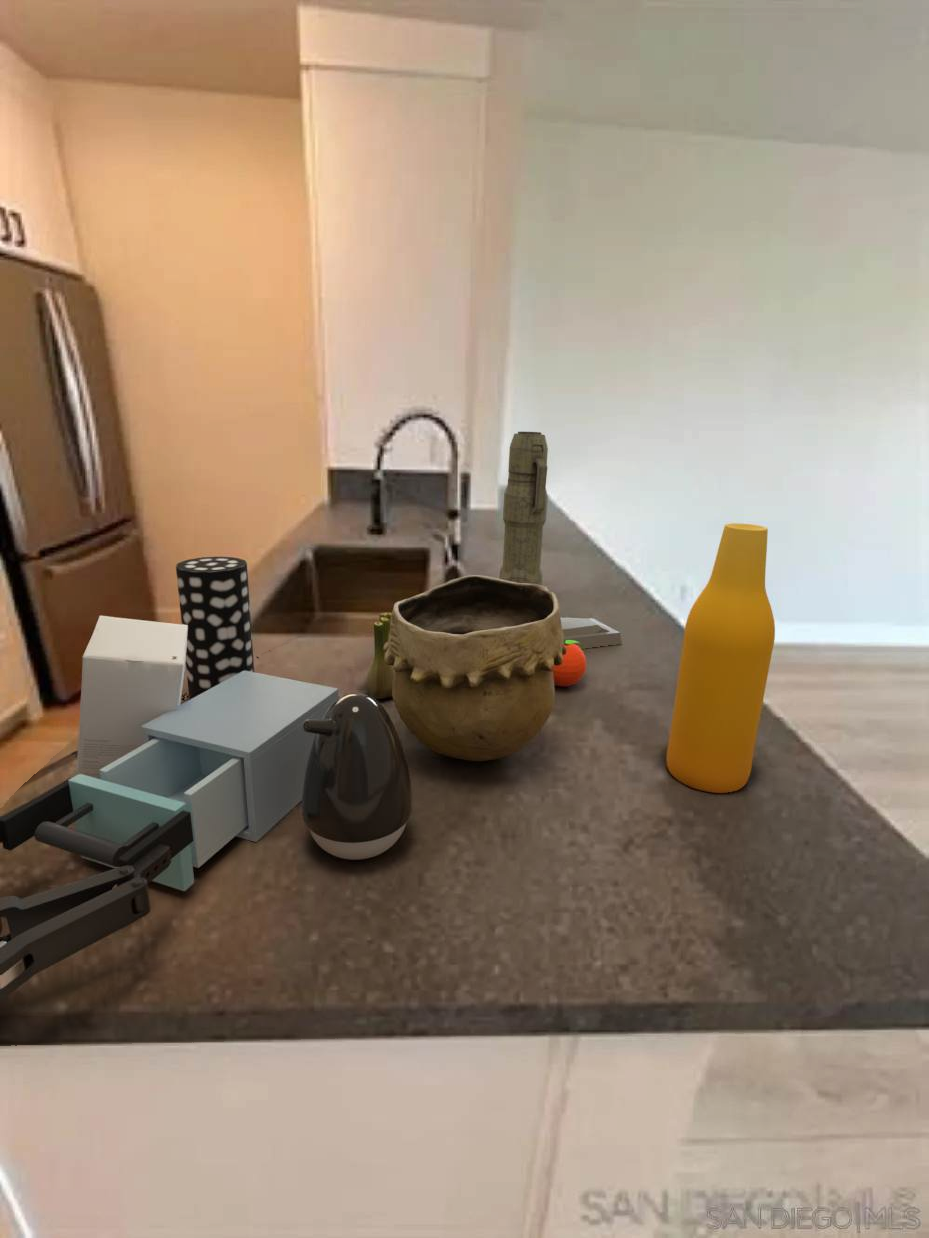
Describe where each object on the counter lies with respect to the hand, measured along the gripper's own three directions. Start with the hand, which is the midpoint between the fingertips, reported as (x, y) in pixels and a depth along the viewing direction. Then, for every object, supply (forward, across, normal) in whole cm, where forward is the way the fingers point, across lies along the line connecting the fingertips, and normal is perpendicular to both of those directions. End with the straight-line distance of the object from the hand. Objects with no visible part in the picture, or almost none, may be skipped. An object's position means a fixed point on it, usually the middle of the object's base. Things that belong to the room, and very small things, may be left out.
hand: (130, 808), depth 56 cm
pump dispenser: (+12, +15, -7) cm, 20 cm away
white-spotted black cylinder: (+30, -15, -7) cm, 34 cm away
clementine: (+58, +25, -7) cm, 63 cm away
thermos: (+97, +7, -8) cm, 97 cm away
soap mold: (+77, +20, -7) cm, 80 cm away
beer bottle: (+39, +46, -7) cm, 61 cm away
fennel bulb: (+43, +2, -7) cm, 43 cm away
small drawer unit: (+16, 0, -7) cm, 17 cm away
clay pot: (+33, +19, -7) cm, 38 cm away
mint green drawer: (+4, 0, -6) cm, 7 cm away
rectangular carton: (+13, -14, -5) cm, 20 cm away
